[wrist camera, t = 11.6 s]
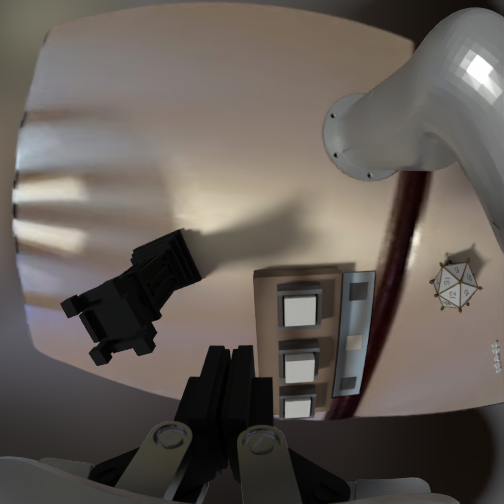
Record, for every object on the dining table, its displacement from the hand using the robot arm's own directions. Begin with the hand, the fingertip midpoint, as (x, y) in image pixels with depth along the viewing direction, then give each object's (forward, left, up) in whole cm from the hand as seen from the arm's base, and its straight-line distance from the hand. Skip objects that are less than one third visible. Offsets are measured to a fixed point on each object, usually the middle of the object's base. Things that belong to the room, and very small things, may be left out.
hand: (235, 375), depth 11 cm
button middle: (+5, +19, -26) cm, 33 cm away
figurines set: (-30, +52, -32) cm, 68 cm away
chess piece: (+14, -3, -31) cm, 34 cm away
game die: (-22, +23, -31) cm, 45 cm away
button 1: (+9, +27, -28) cm, 40 cm away
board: (+2, +20, -31) cm, 37 cm away
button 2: (+1, +11, -28) cm, 30 cm away
